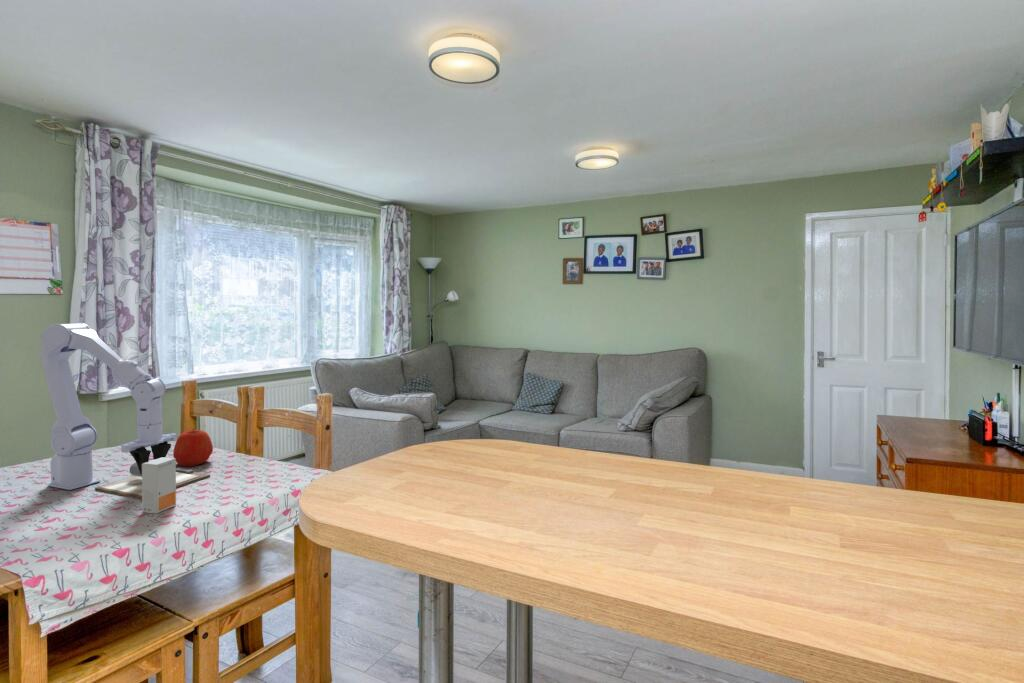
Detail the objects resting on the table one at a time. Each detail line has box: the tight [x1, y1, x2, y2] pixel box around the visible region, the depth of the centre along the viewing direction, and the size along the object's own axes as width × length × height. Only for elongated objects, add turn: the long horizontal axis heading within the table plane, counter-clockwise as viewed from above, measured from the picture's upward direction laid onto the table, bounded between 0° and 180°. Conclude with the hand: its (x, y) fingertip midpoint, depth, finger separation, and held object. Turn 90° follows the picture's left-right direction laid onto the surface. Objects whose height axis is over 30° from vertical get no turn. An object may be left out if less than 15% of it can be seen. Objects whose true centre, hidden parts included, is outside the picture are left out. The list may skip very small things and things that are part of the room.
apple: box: [172, 429, 214, 467], centre depth 171 cm, size 11×11×11 cm
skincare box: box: [141, 457, 177, 515], centre depth 133 cm, size 6×4×12 cm
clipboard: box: [94, 467, 211, 500], centre depth 152 cm, size 18×20×1 cm
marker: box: [129, 462, 142, 477], centre depth 151 cm, size 13×4×4 cm, turn 70°
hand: (151, 472), depth 151 cm, fingers closed on marker, 3 cm apart
